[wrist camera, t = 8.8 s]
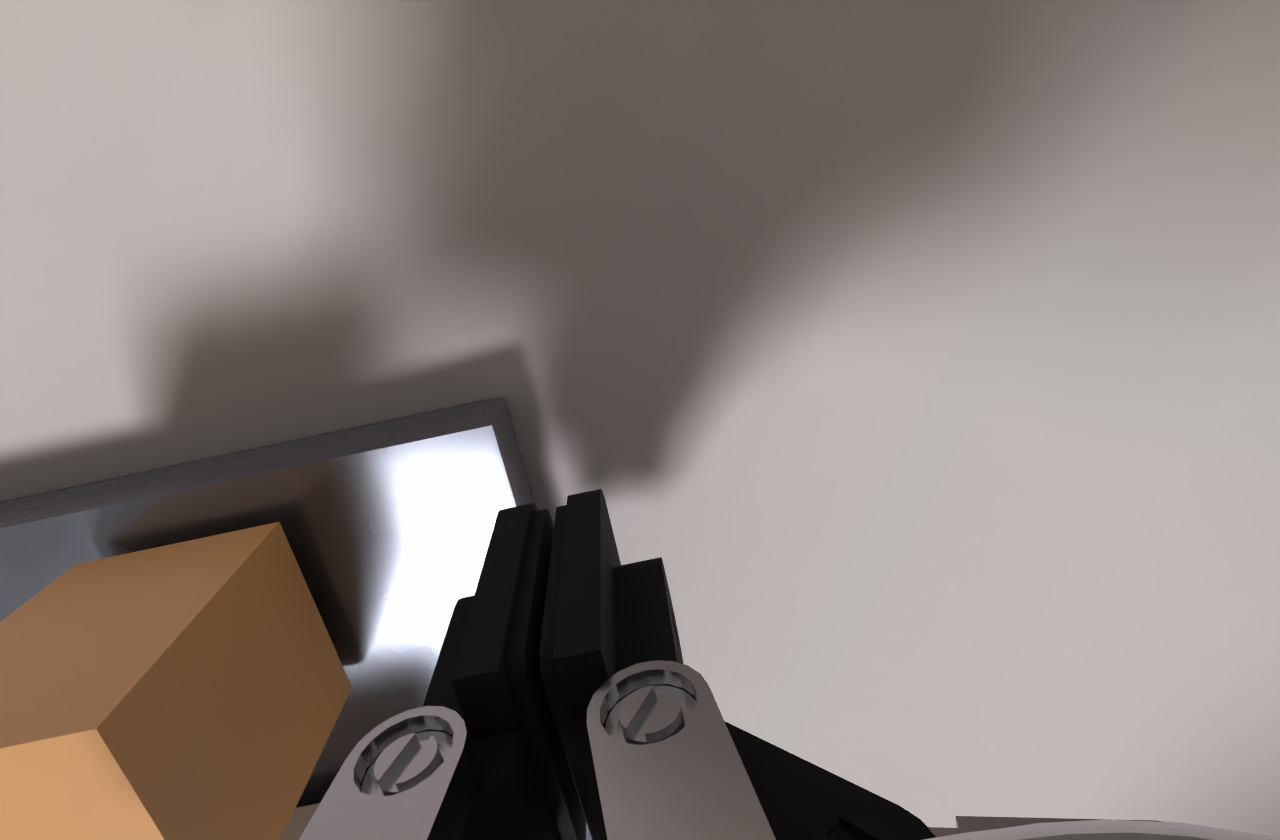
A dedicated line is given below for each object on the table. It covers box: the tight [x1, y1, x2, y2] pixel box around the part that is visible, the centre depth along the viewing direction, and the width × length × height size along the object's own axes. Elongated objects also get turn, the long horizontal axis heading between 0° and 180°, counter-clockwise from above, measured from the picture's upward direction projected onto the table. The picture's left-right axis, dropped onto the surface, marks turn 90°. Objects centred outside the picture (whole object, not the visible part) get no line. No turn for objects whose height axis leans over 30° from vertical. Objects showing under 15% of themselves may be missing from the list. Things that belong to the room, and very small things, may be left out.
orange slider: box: [0, 522, 352, 840], centre depth 10 cm, size 4×4×4 cm
